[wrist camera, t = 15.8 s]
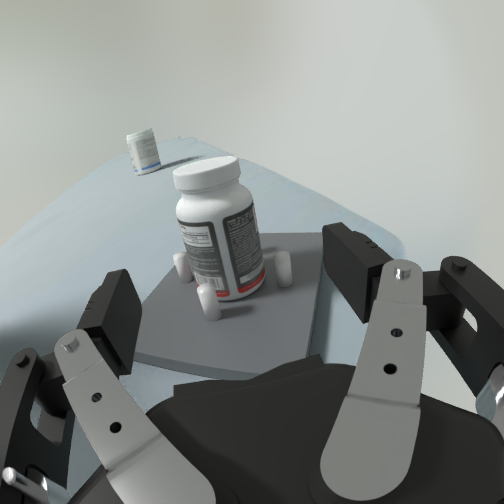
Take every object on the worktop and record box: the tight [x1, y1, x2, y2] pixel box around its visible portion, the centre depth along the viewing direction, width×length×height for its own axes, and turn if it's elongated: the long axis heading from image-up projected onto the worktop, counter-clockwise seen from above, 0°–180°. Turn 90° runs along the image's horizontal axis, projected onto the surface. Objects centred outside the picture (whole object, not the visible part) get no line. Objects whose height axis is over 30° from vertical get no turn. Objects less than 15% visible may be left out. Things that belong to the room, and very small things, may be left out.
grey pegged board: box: [133, 232, 323, 380], centre depth 24 cm, size 14×18×4 cm
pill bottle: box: [173, 156, 265, 301], centre depth 22 cm, size 6×6×10 cm
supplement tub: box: [126, 129, 161, 175], centre depth 91 cm, size 10×10×15 cm
